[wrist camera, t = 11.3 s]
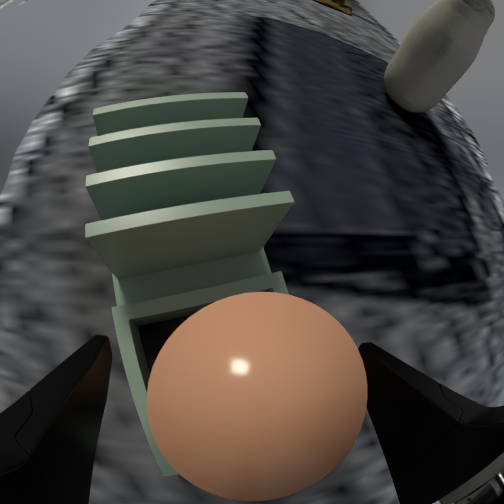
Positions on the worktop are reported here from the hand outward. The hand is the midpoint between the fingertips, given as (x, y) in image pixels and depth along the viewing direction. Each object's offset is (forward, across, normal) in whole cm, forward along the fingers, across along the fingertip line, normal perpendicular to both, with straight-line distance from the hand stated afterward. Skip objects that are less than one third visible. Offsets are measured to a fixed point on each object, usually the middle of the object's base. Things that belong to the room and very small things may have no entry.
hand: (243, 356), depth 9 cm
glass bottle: (+32, -27, -20) cm, 46 cm away
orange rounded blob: (+5, 0, +7) cm, 8 cm away
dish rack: (+8, +1, +3) cm, 9 cm away
